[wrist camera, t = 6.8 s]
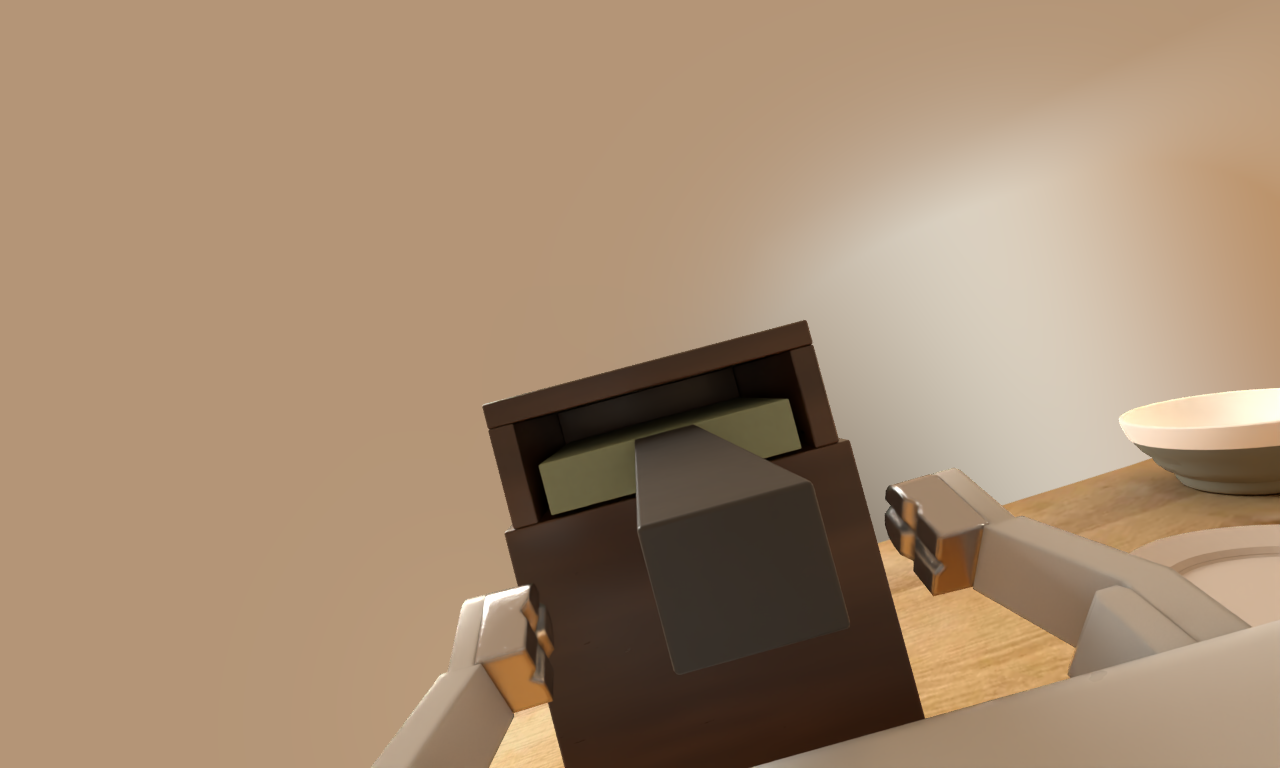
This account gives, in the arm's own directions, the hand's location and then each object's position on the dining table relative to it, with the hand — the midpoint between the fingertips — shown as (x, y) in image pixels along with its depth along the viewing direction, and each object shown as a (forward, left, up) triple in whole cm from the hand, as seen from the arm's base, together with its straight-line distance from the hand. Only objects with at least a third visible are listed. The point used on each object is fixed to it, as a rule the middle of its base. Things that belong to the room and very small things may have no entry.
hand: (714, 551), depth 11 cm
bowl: (+36, -77, -26) cm, 89 cm away
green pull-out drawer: (+6, -1, 0) cm, 6 cm away
